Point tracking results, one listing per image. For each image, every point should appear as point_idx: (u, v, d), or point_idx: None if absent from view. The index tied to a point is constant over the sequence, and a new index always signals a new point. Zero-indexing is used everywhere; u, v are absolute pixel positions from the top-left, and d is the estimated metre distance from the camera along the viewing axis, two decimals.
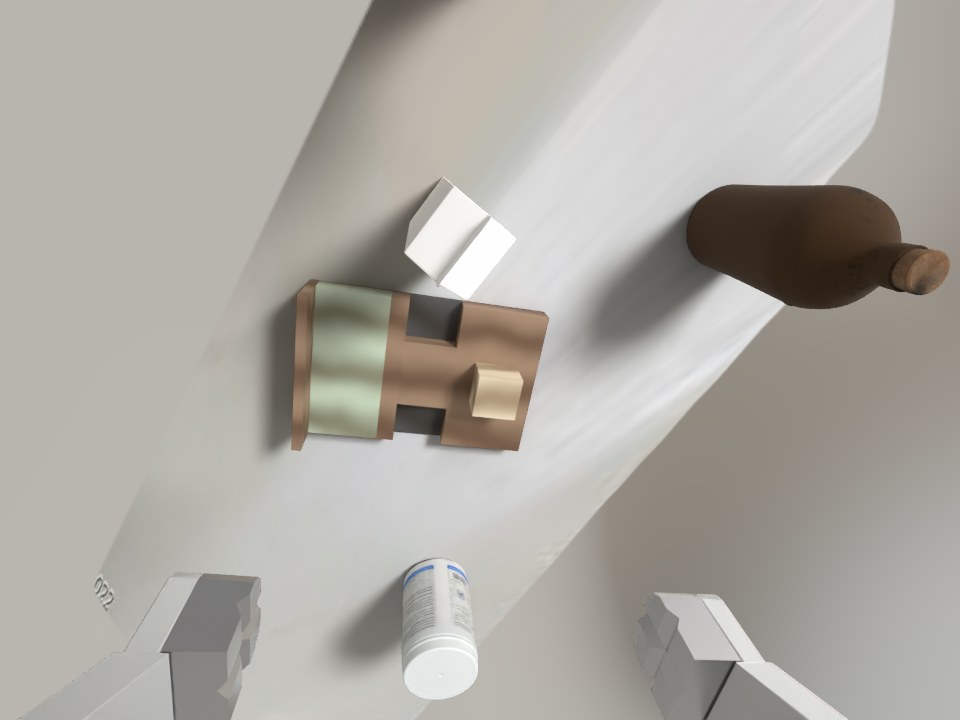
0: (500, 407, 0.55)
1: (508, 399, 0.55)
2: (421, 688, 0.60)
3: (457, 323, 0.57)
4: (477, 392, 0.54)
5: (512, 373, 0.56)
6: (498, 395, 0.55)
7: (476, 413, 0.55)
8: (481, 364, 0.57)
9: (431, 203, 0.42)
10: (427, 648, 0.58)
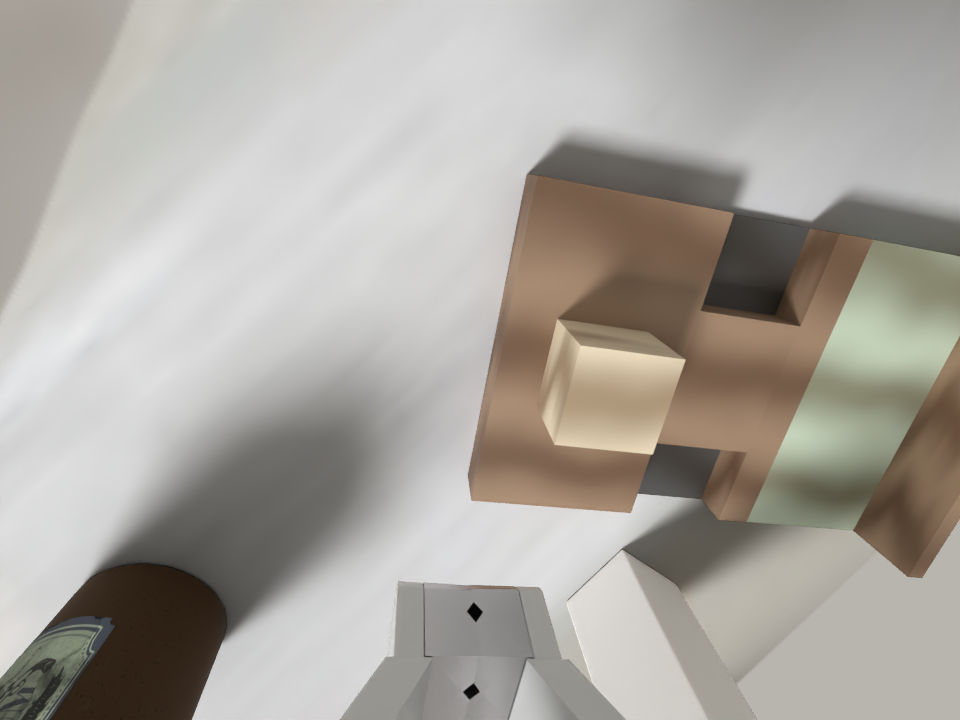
0: (613, 380, 0.22)
1: (591, 400, 0.22)
2: None
3: None
4: (663, 418, 0.23)
5: None
6: (614, 411, 0.22)
7: (674, 366, 0.22)
8: None
9: None
10: None
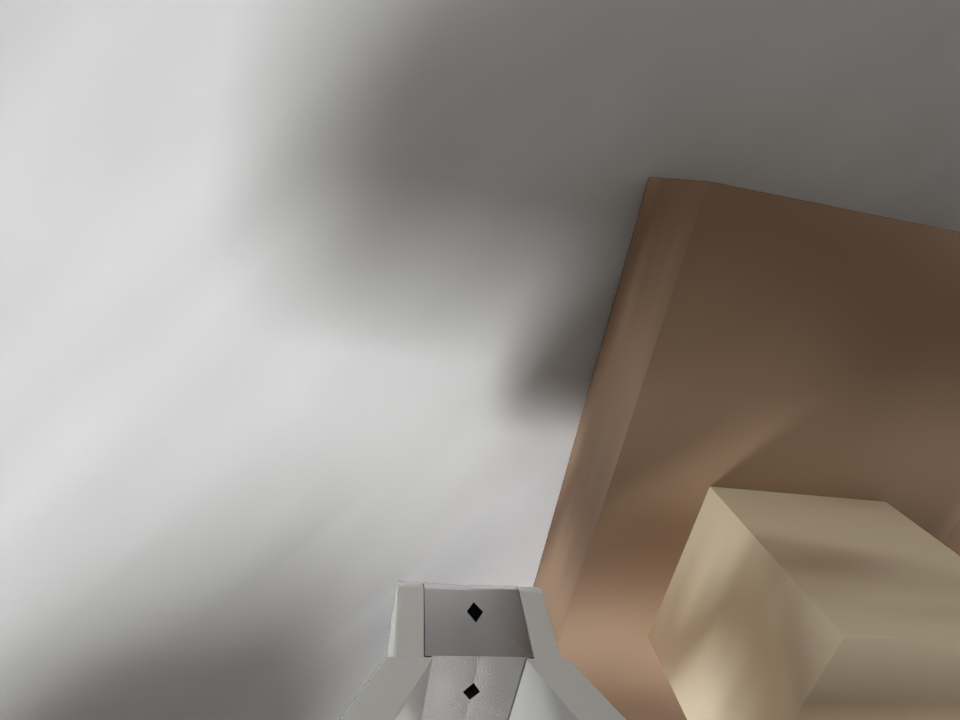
0: (899, 698, 0.09)
1: None
2: None
3: None
4: None
5: None
6: None
7: None
8: None
9: None
10: None
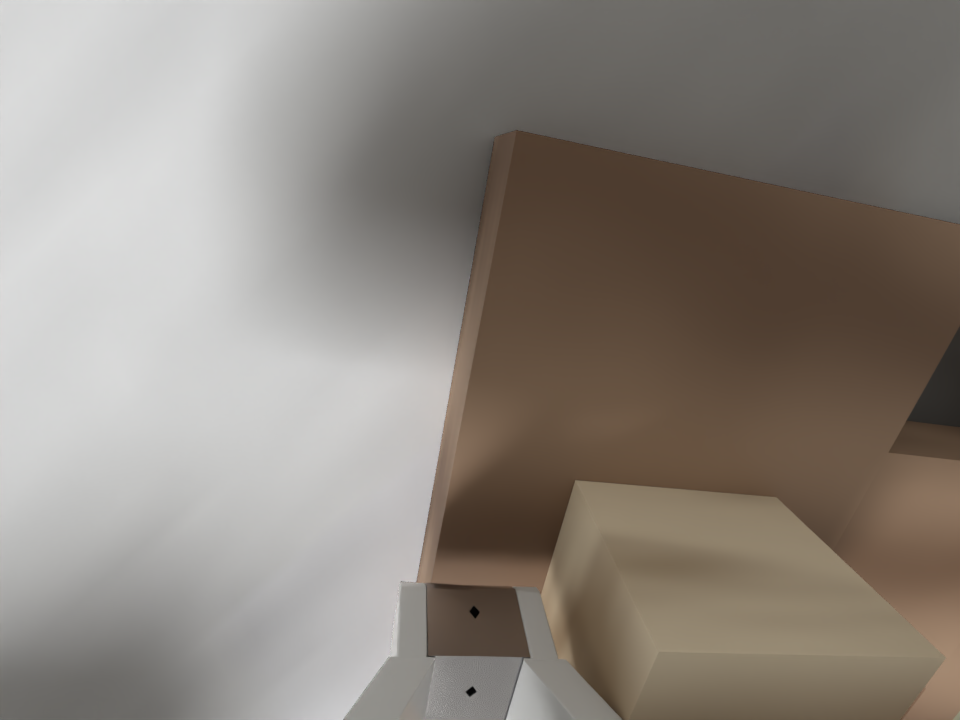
0: (740, 718, 0.08)
1: None
2: None
3: None
4: None
5: None
6: None
7: (911, 674, 0.08)
8: None
9: None
10: None
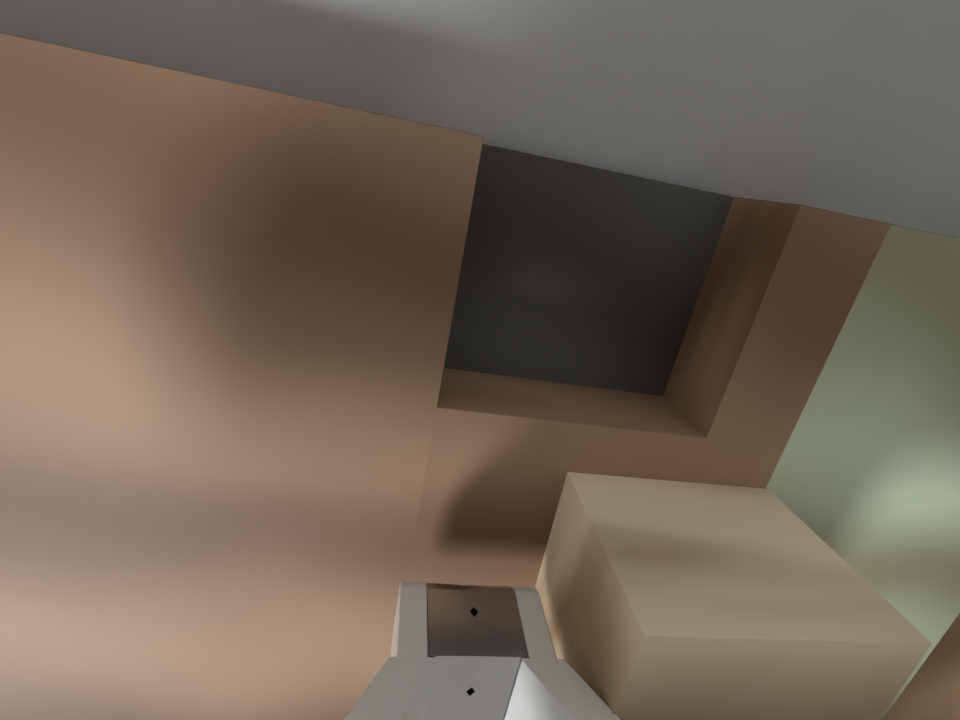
0: (729, 703, 0.08)
1: None
2: None
3: None
4: None
5: None
6: None
7: (897, 660, 0.08)
8: None
9: None
10: None
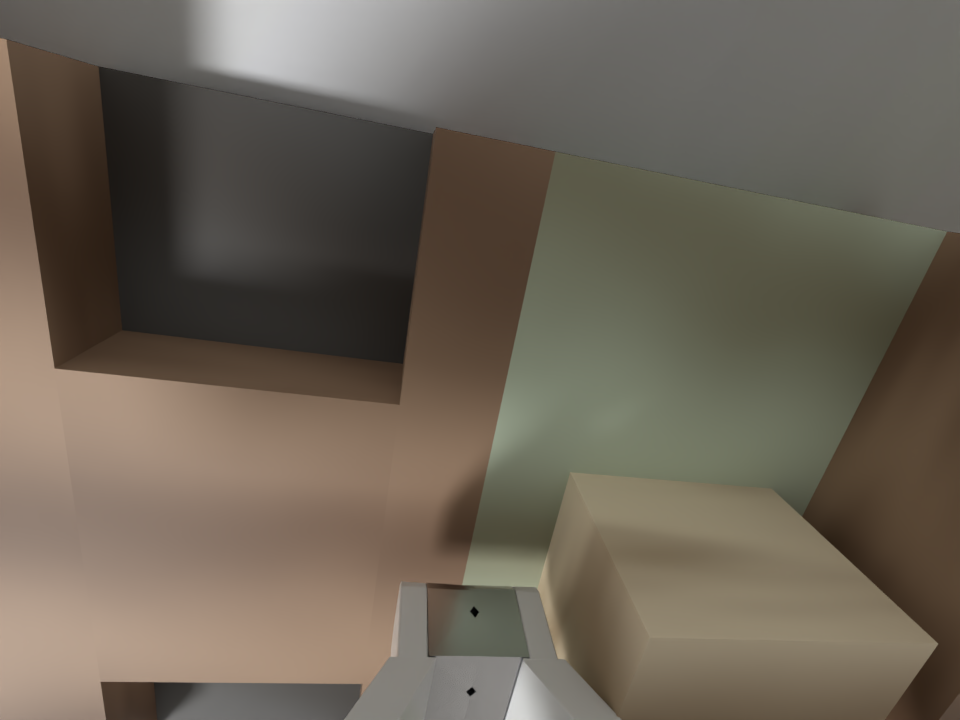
0: (734, 705, 0.08)
1: None
2: None
3: None
4: None
5: None
6: None
7: (903, 661, 0.08)
8: None
9: None
10: None
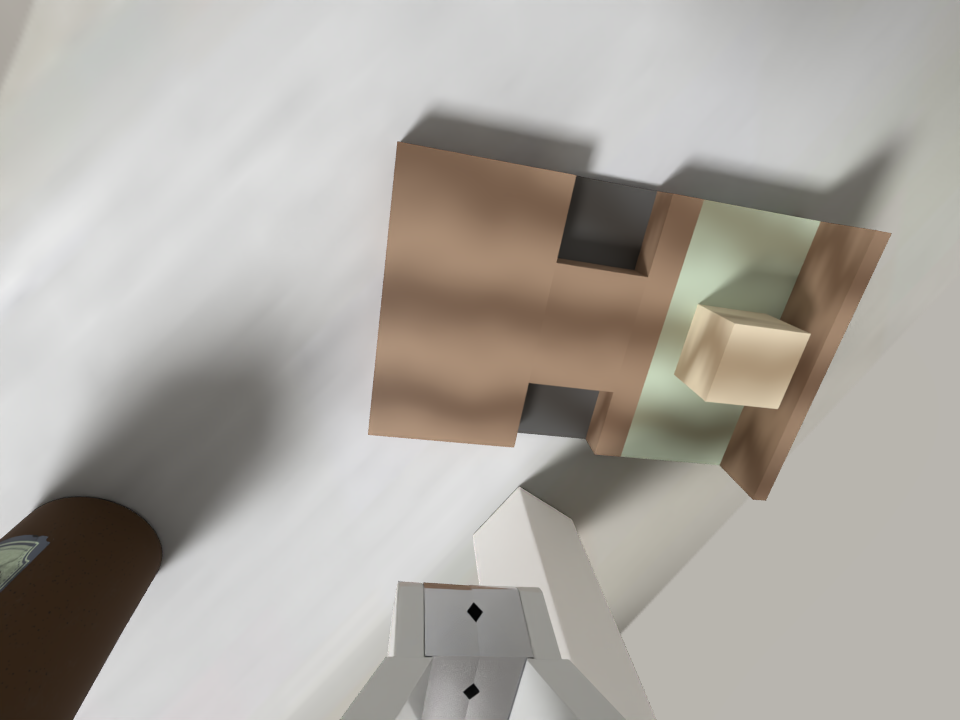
0: (755, 351, 0.28)
1: (737, 366, 0.29)
2: None
3: None
4: (788, 380, 0.30)
5: None
6: (753, 374, 0.29)
7: (801, 339, 0.29)
8: None
9: None
10: None
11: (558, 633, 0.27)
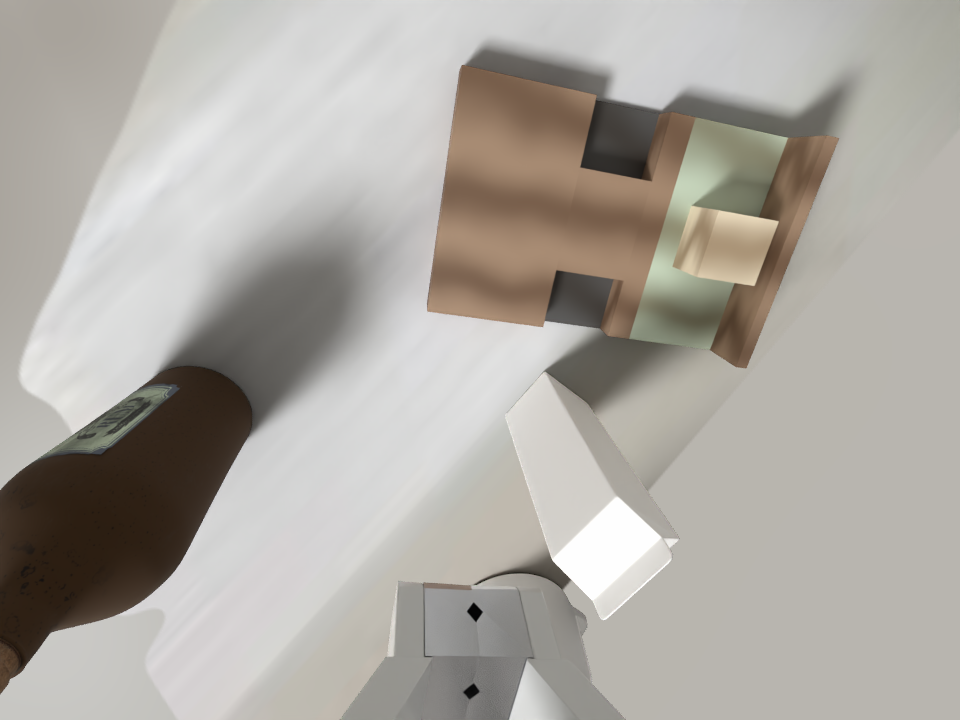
0: (735, 234, 0.37)
1: (721, 247, 0.37)
2: None
3: None
4: (762, 260, 0.38)
5: None
6: (734, 254, 0.37)
7: (771, 225, 0.37)
8: None
9: None
10: None
11: (582, 444, 0.35)
